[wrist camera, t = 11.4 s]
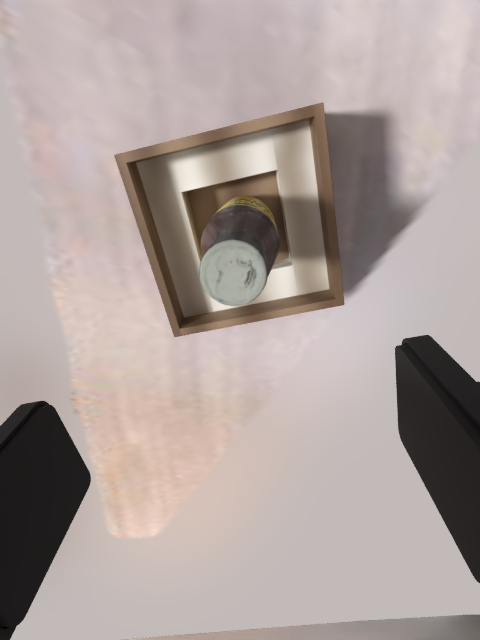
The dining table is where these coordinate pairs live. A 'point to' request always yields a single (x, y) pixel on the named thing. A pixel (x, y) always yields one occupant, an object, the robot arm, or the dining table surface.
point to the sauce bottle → (238, 251)
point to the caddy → (220, 187)
